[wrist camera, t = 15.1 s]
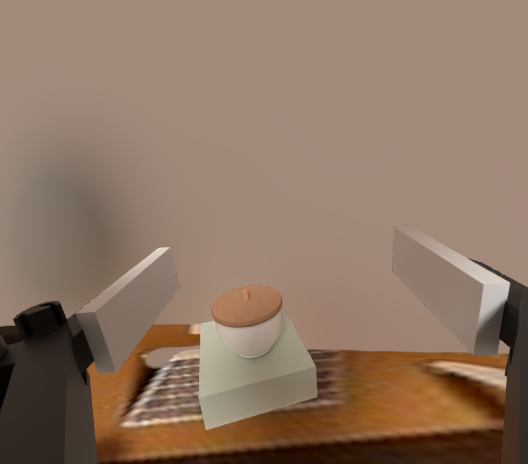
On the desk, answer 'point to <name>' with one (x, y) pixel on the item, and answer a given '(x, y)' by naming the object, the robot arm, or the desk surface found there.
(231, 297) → the lidded jar
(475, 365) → the desk surface
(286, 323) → the sage box
